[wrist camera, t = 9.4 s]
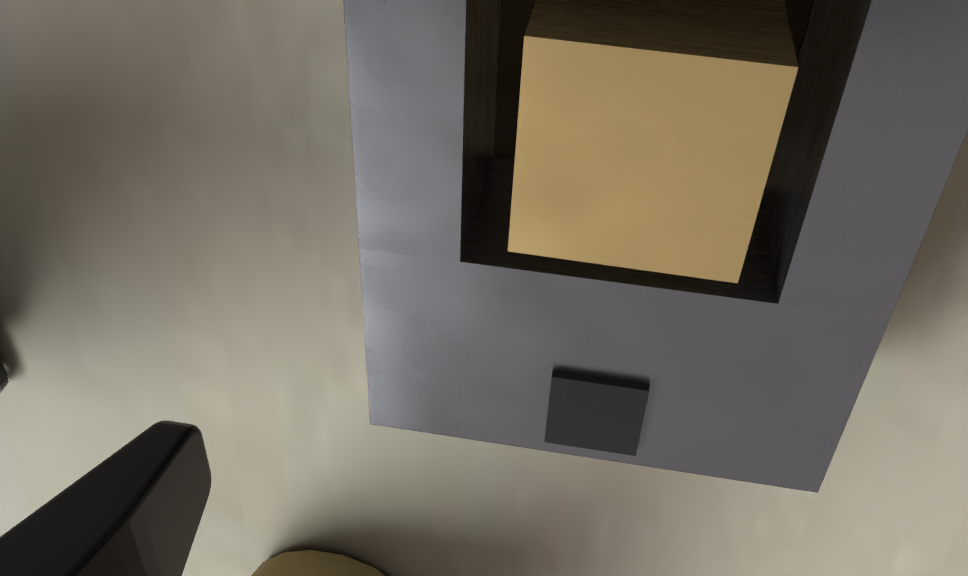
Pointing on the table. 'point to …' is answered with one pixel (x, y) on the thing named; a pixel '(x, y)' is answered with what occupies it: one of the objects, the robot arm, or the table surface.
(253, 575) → the squeeze bottle
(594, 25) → the tan wooden block
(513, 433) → the grey socket block
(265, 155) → the table surface
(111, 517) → the robot arm
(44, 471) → the table surface
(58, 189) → the table surface
